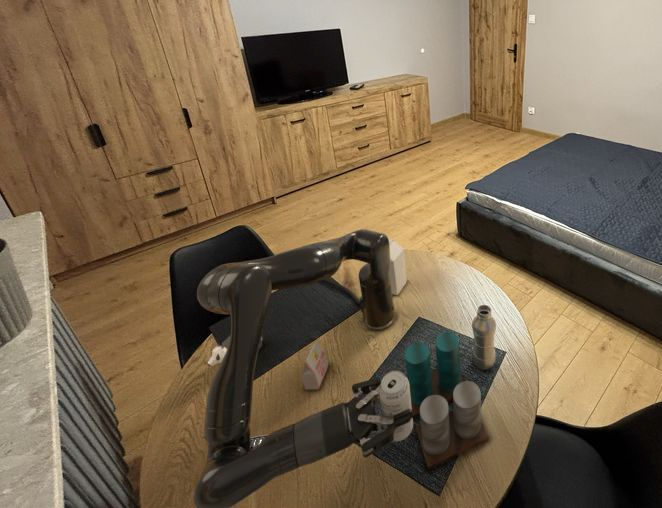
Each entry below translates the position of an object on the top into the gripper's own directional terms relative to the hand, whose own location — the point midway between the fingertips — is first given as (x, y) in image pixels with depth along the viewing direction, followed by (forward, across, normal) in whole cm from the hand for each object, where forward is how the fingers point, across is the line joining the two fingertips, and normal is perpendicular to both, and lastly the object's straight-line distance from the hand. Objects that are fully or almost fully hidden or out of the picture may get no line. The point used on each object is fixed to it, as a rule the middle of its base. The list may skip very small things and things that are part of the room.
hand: (407, 398), depth 77 cm
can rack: (+10, +12, +19) cm, 24 cm away
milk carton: (+9, +55, +20) cm, 59 cm away
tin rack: (+10, 0, +19) cm, 21 cm away
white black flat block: (-32, +15, +20) cm, 41 cm away
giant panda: (-39, +45, +20) cm, 63 cm away
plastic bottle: (+25, +14, +19) cm, 35 cm away
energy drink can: (-2, 0, +9) cm, 9 cm away
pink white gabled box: (-19, +29, +20) cm, 40 cm away
